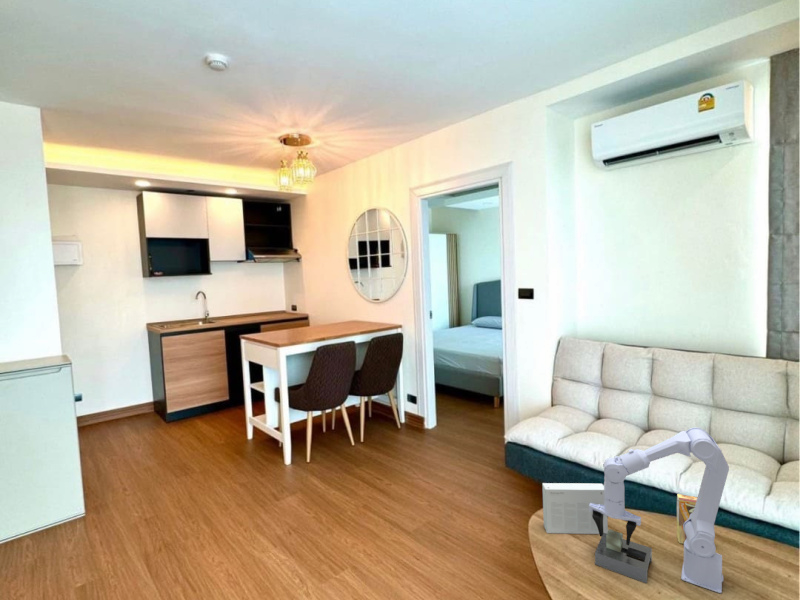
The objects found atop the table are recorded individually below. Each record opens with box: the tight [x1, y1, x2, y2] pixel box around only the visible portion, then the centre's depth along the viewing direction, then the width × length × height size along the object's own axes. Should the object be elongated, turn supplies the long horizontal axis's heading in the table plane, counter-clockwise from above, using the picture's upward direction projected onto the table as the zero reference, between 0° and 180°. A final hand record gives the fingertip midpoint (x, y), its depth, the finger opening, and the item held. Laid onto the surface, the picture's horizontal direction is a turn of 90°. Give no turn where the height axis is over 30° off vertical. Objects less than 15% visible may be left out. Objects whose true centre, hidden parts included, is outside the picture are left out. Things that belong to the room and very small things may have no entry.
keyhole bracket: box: [594, 533, 653, 584], centre depth 131 cm, size 14×12×4 cm
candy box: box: [676, 493, 698, 545], centre depth 139 cm, size 9×4×15 cm, turn 67°
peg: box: [606, 528, 624, 552], centre depth 133 cm, size 4×4×7 cm
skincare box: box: [542, 482, 609, 535], centre depth 149 cm, size 21×5×16 cm, turn 84°
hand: (614, 539), depth 133 cm, fingers open, 7 cm apart
